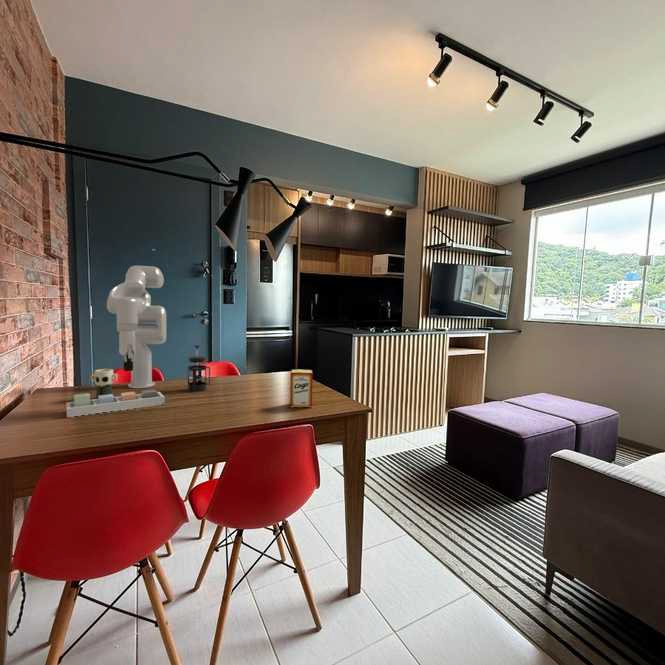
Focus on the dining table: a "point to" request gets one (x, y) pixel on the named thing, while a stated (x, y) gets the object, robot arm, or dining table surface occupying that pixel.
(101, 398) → the key blue
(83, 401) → the key sage
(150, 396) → the key charcoal
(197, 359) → the french press
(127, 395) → the key terracotta
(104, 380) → the character mug
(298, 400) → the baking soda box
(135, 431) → the dining table surface
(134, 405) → the keypad housing
